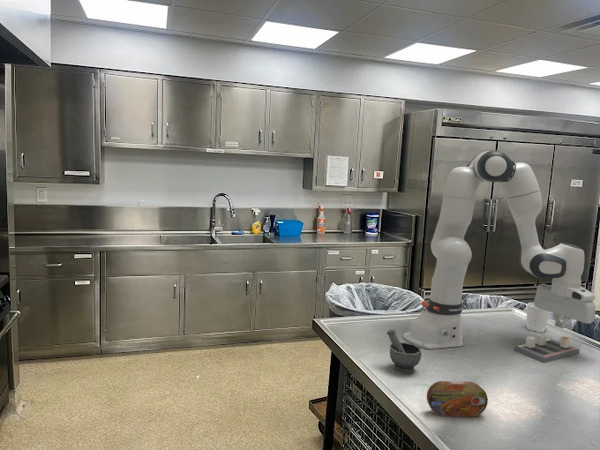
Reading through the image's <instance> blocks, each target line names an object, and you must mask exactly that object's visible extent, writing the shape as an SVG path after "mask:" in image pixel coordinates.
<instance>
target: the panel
mask: <svg viewBox="0 0 600 450" xmlns="http://www.w3.org/2000/svg"><path fill="white" fill-rule="evenodd" d="M525 344H526V343H523V344H519V345H515V346H514V351H515V352H518V353H520V354H522V355H524V356H527V357H529V358H531V359H534V360H537V361H539V362H541V363H548V362H552V361H556V360H560V359H563V358H567V357H571V356H574V355H578V354H579V353H580V348H578V347H575V346H572V345H570V347H569V348H563V347H560V340H559V341H558V340H555V339H552V338H546V345H542V346H540V345H538V344H536V342H535V347H534V348H528V347H526V346H525Z"/></svg>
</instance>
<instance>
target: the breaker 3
mask: <svg viewBox="0 0 600 450" xmlns="http://www.w3.org/2000/svg"><path fill="white" fill-rule="evenodd" d="M559 342H560V347H563V348H569V347H570V346H571V338H570V337H568V336H561V337H560V340H559Z"/></svg>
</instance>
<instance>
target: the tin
mask: <svg viewBox="0 0 600 450" xmlns="http://www.w3.org/2000/svg"><path fill="white" fill-rule="evenodd" d="M427 389H428V390H427V393H426V400H427V404H428V405H429V408H430V409H431V411H432V412H433V413H434V414H436V415H437V416H440V417H461V418H463V417H466V418H467V417H469V418H473V417H477V416H479V415H481V414H482V413H484V411H485V410H486V408H487V406H488V402H489V398H488V395H487V392H486V391H485V390H484V388H483V387H481V386H480V385H479V384H478V383H476V382H473V381H461V380H458V381H456V380H455V381H453V380H440V381H436V382H434V383H432V384H431V385H430V386H429V388H427Z"/></svg>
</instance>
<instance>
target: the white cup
mask: <svg viewBox="0 0 600 450" xmlns="http://www.w3.org/2000/svg"><path fill="white" fill-rule="evenodd" d="M526 304H527V305H526V308H527V310H526V325H525V326H526V329H527V330H529V331H532V332H537V333H544V332H545V331H546V328H547V322H548V317H549V313H550V312H549V311H546V310H543V309H540V308H537V307H535V306H534V302H528V303H526Z"/></svg>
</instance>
